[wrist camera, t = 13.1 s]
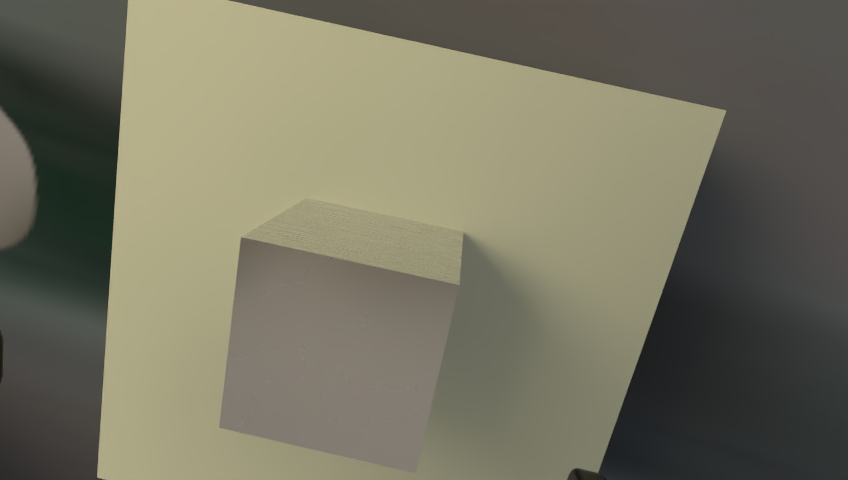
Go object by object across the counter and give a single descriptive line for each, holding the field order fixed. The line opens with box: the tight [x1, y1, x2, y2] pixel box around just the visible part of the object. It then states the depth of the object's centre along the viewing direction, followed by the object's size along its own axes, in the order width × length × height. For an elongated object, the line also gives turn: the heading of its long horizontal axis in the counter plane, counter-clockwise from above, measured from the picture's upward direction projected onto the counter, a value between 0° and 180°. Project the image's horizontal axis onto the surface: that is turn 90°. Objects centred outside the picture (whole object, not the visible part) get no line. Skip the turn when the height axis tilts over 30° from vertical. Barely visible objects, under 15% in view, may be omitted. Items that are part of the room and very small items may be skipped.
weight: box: [219, 198, 463, 473], centre depth 12 cm, size 4×4×4 cm
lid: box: [97, 0, 726, 480], centre depth 15 cm, size 14×14×1 cm
